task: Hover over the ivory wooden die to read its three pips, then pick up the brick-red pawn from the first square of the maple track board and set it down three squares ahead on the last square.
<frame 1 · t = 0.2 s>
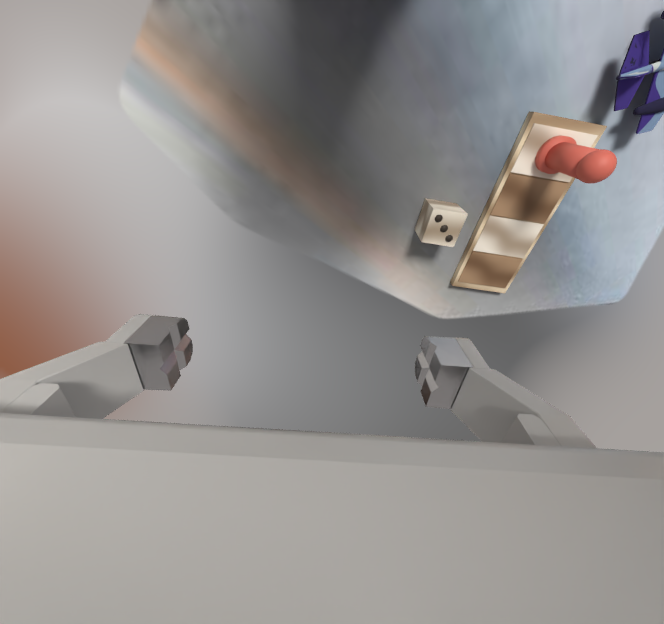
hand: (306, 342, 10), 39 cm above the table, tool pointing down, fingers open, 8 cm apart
track board: (513, 216, 46), on the table
toy airplane: (662, 60, 35), on the table
pawn: (552, 154, 39), point 1 cm above the table, touching track board
die: (434, 216, 46), on the table
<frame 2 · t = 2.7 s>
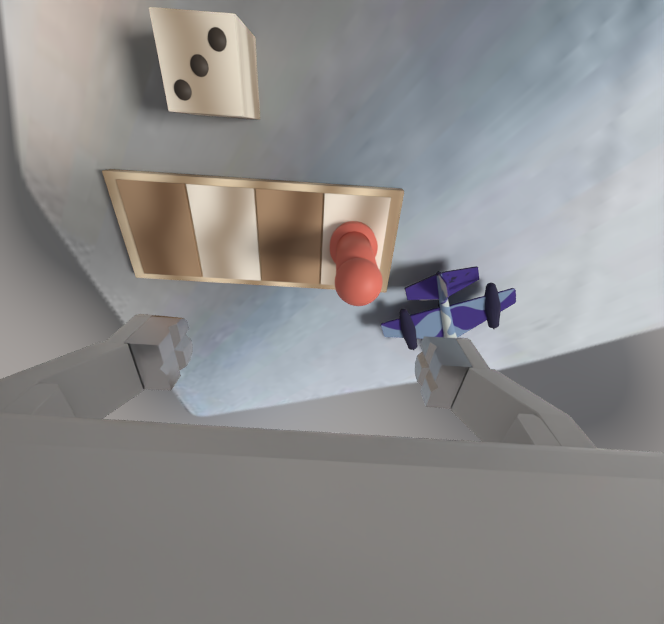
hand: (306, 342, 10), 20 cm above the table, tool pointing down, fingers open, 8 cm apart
track board: (261, 234, 29), on the table
toy airplane: (440, 312, 34), on the table
pawn: (353, 244, 28), point 1 cm above the table, touching track board
die: (225, 78, 23), on the table
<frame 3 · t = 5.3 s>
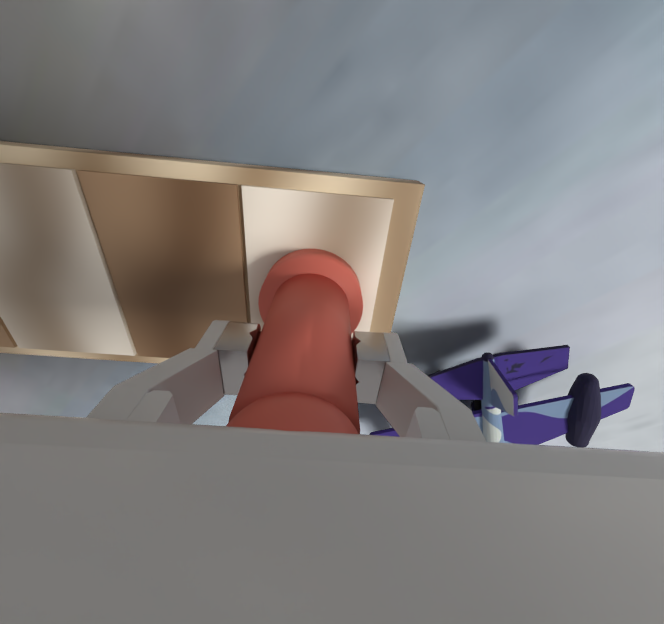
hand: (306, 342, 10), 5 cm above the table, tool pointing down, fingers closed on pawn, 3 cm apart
track board: (129, 267, 14), on the table
toy airplane: (473, 402, 19), on the table
pawn: (312, 295, 13), point 1 cm above the table, touching gripper, track board
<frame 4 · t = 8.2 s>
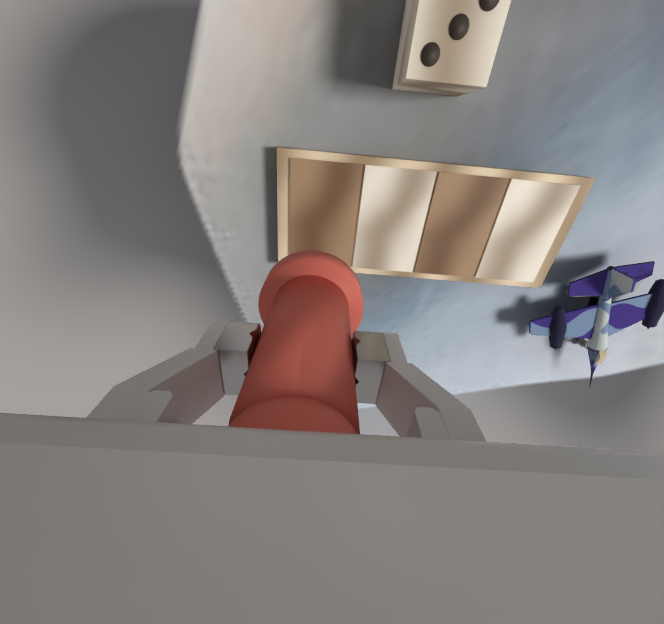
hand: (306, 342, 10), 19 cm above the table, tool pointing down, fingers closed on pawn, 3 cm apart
track board: (420, 222, 27), on the table
toy airplane: (580, 310, 32), on the table
pawn: (312, 296, 13), point 16 cm above the table, touching gripper
die: (433, 49, 21), on the table
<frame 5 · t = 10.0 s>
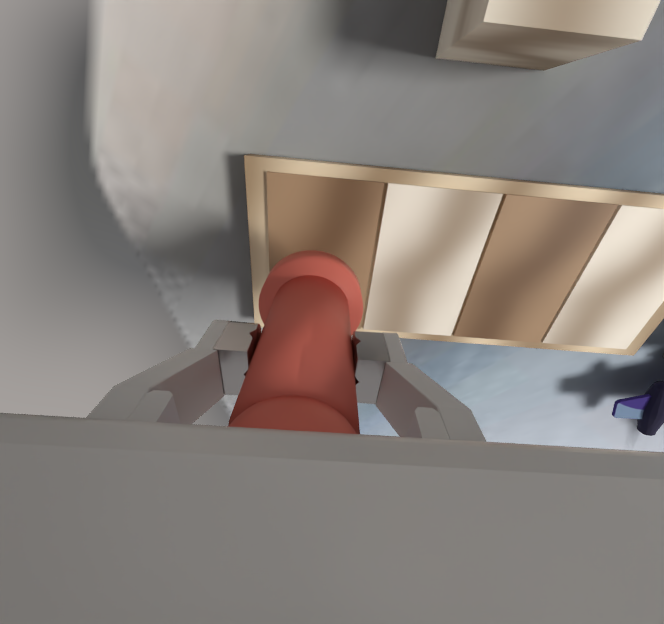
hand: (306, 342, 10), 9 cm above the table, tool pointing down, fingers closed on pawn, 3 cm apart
track board: (465, 265, 18), on the table
pawn: (312, 296, 13), point 5 cm above the table, touching gripper
when the fingers open (6 cm above the table, at t = 11.2 s): pawn drops 1 cm, resting on track board.
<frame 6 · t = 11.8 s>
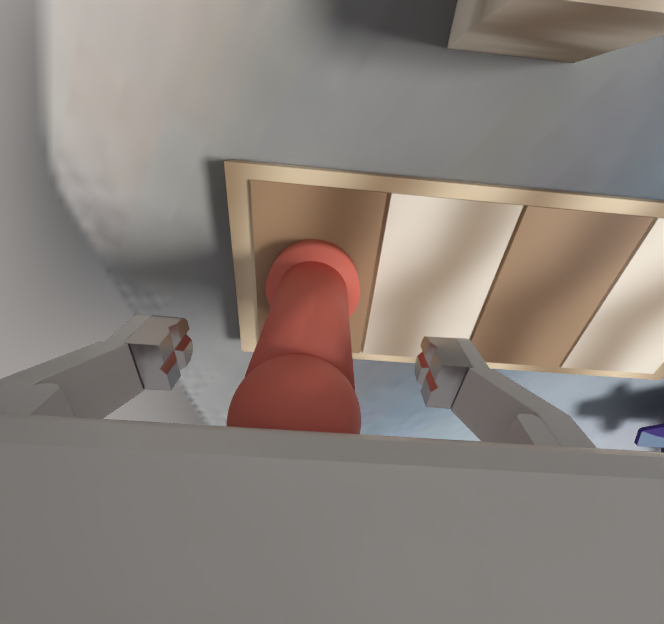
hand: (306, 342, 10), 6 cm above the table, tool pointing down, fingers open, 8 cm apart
track board: (477, 283, 16), on the table
pawn: (314, 282, 15), point 1 cm above the table, touching track board
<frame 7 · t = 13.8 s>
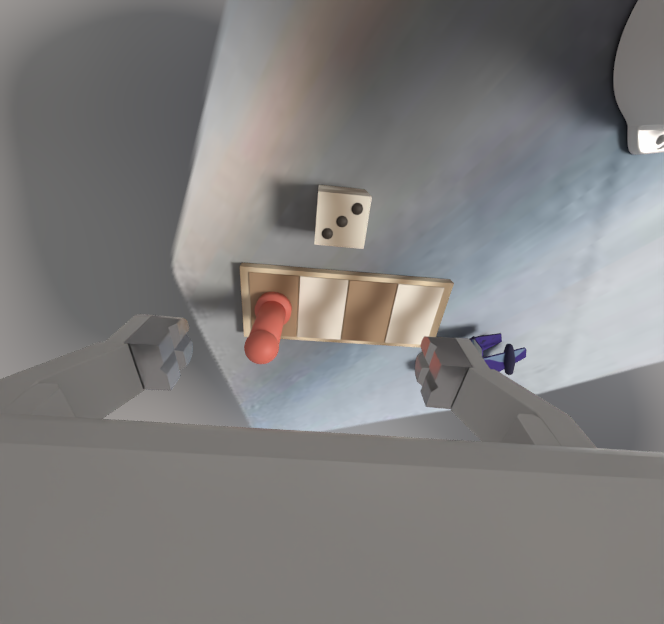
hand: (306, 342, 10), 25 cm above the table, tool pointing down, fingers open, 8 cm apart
track board: (344, 306, 38), on the table
toy airplane: (467, 360, 44), on the table
pawn: (274, 307, 37), point 1 cm above the table, touching track board
die: (339, 211, 32), on the table
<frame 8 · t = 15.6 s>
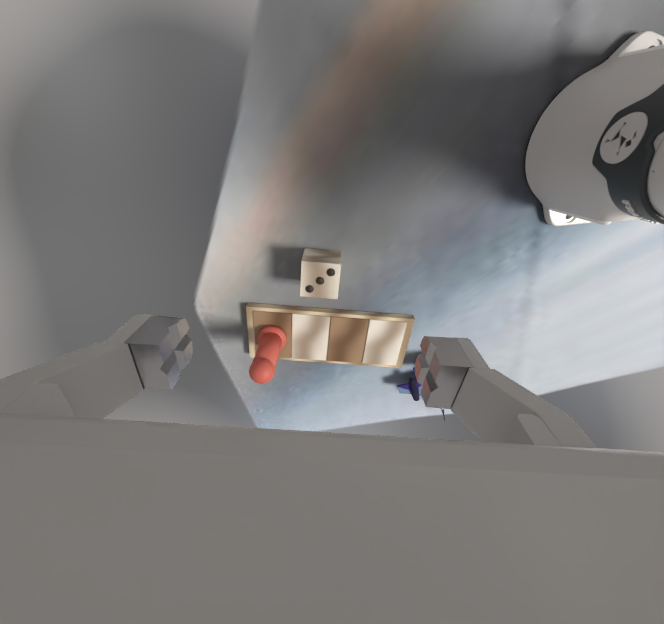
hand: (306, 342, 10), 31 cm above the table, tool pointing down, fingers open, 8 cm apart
track board: (328, 334, 48), on the table
toy airplane: (433, 376, 53), on the table
pawn: (272, 336, 47), point 1 cm above the table, touching track board
die: (321, 265, 42), on the table
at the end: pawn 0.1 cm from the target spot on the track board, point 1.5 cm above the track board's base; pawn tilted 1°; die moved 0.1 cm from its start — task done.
